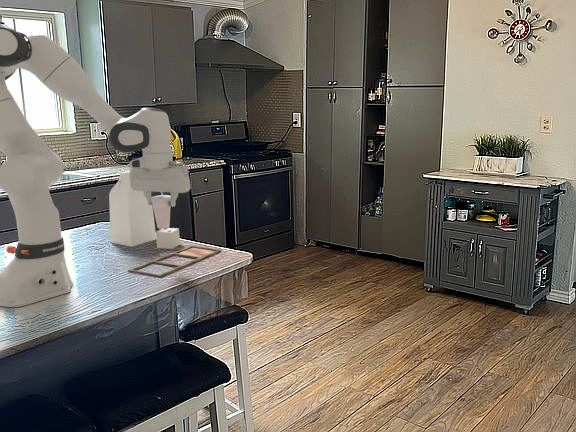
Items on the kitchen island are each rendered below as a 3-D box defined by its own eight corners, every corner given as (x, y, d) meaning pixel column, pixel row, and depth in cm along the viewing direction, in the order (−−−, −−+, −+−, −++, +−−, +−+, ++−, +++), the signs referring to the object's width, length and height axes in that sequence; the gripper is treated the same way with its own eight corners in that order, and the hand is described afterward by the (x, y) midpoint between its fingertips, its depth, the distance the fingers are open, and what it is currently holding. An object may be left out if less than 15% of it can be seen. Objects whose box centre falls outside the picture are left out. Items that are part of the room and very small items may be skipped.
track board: (160, 277, 172) (159, 275, 172) (128, 271, 178) (128, 269, 178) (221, 251, 198) (221, 249, 198) (191, 247, 204) (191, 245, 204)
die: (172, 249, 203) (171, 232, 202) (157, 248, 204) (155, 231, 203) (179, 244, 209) (178, 228, 207) (164, 243, 210) (163, 227, 209)
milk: (135, 235, 223) (130, 168, 217) (156, 239, 216) (151, 170, 211) (110, 242, 213) (104, 172, 207) (131, 246, 207) (125, 174, 201)
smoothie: (178, 225, 182) (174, 182, 179) (164, 230, 177) (160, 185, 173) (162, 224, 185) (158, 181, 182) (148, 228, 180) (144, 184, 177)
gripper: (192, 160, 175) (195, 205, 178) (137, 159, 183) (141, 202, 186) (181, 163, 169) (184, 209, 172) (124, 162, 177) (128, 206, 180)
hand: (161, 205), depth 179 cm, fingers closed on smoothie, 6 cm apart
